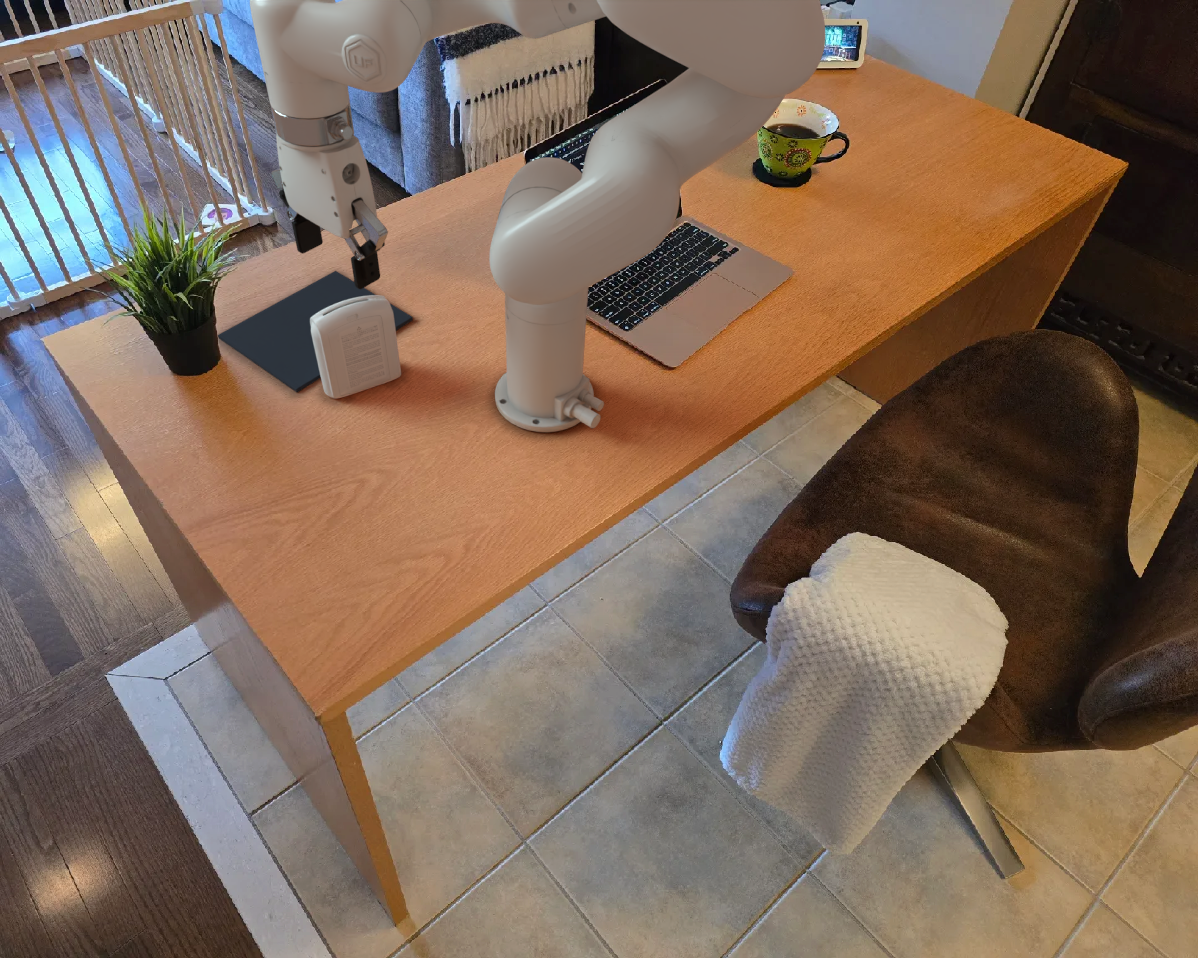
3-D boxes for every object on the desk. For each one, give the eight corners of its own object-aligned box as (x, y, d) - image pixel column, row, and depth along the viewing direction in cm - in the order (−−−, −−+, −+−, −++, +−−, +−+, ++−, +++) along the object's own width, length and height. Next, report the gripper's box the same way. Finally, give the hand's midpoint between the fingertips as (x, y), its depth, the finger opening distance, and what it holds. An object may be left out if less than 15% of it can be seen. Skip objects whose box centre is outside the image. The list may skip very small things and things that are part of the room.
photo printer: (393, 359, 116) (381, 281, 106) (407, 377, 113) (396, 299, 104) (318, 384, 111) (299, 306, 102) (331, 405, 109) (313, 326, 100)
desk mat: (413, 320, 121) (412, 316, 121) (296, 392, 110) (295, 389, 110) (336, 273, 127) (335, 270, 127) (218, 338, 116) (217, 334, 116)
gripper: (402, 138, 86) (416, 283, 98) (287, 79, 92) (315, 222, 105) (342, 165, 81) (365, 312, 94) (226, 101, 88) (263, 248, 101)
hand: (338, 265), depth 99 cm, fingers open, 9 cm apart
